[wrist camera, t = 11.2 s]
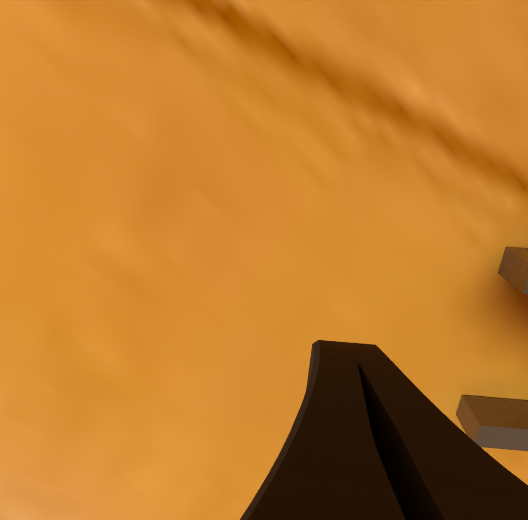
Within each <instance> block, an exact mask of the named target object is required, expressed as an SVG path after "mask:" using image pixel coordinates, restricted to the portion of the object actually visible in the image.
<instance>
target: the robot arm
mask: <svg viewBox="0 0 528 520" xmlns="http://www.w3.org/2000/svg"><path fill="white" fill-rule="evenodd" d="M240 520H528V485H527V484H525V483H524V482H523V481H521V480H520V479H519V478H518V477H516V476H515V475H514V474H512V473H511V472H510V471H509V470H507V469H506V468H505V467H503V466H502V465H501V464H500V463H499V462H497V461H496V460H495V459H494V458H493V457H491V456H490V455H489V454H488V453H487V452H485V451H484V450H483V449H482V448H481V447H480V446H479V445H477V444H476V443H475V442H474V441H473V440H472V439H471V438H470V437H468V436H467V435H466V434H465V433H464V432H463V431H462V430H461V429H459V428H458V427H457V426H456V425H455V424H454V423H453V422H452V421H451V420H450V419H449V418H448V417H447V416H445V415H444V414H443V413H442V412H441V411H440V410H439V409H438V408H437V407H436V406H435V405H434V404H433V403H432V402H431V401H430V400H429V399H428V398H427V397H426V396H425V395H424V394H423V393H422V392H421V391H420V390H419V389H418V388H417V387H416V386H415V385H414V384H413V383H412V382H411V381H410V380H409V379H408V378H407V377H406V376H405V375H404V374H403V373H402V371H401V370H400V369H399V368H398V367H397V366H396V365H395V364H394V363H393V362H392V361H391V360H390V359H389V358H388V357H387V356H386V355H385V354H384V353H383V352H382V351H381V350H380V349H379V348H378V347H377V346H376V345H372V344H360V343H348V342H336V341H324V340H318V341H316V342H315V343H313V344H312V351H311V358H310V366H309V374H308V381H307V389H306V393H305V396H304V399H303V402H302V405H301V407H300V409H299V412H298V414H297V417H296V419H295V421H294V424H293V426H292V429H291V431H290V433H289V435H288V437H287V439H286V442H285V444H284V446H283V448H282V450H281V452H280V454H279V455H278V457H277V459H276V461H275V463H274V465H273V467H272V468H271V470H270V472H269V474H268V475H267V477H266V479H265V480H264V482H263V484H262V485H261V487H260V489H259V490H258V492H257V494H256V495H255V497H254V499H253V500H252V502H251V503H250V505H249V507H248V508H247V510H246V511H245V513H244V514H243V516H242V517H241V519H240Z"/></svg>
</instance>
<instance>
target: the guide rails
mask: <svg viewBox="0 0 528 520" xmlns="http://www.w3.org/2000/svg"><path fill="white" fill-rule="evenodd" d="M498 274H500V275H501V276H502V277H503V278H504V279H506V280H507V281H508V282H509V283H510V284H512V285H513V286H514V287H515V288H516V289H517V290H519V291H520V292H521V293H522V294H528V248H515V247H506V249H505V252H504V255H503V259H502V262H501V265H500V269H499V272H498ZM456 416H457V418H458V419H459V421H460V423H461V425H462V427H463V429H464V431H465V433H466V434H467V436H468V437H470V438H471V439H472V440H473V441H474V442H475V443H476V444H477V445H479V446H480V447H486V448H498V449H509V450H521V451H528V401H526V400H514V399H502V398H491V397H479V396H467V395H462V396H461V400H460V403H459V406H458V410H457V413H456Z"/></svg>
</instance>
